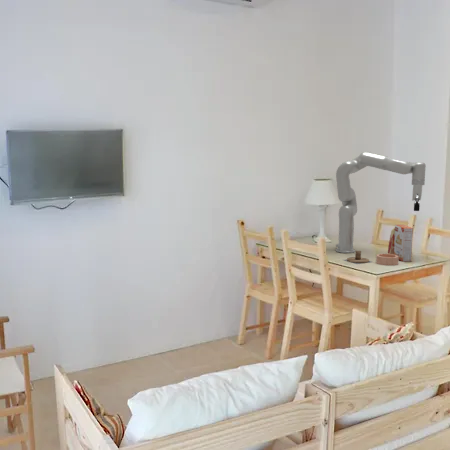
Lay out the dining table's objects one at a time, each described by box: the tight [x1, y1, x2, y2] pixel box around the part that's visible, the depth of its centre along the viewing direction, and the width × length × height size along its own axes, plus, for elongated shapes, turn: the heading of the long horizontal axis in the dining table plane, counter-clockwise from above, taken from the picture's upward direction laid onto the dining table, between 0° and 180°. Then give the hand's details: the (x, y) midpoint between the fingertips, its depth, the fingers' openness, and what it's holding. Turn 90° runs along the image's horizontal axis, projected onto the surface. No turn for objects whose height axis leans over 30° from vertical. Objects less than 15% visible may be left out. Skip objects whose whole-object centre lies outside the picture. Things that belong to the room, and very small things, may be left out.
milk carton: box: [387, 227, 395, 254], centre depth 348 cm, size 9×9×20 cm
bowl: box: [375, 253, 400, 266], centre depth 324 cm, size 12×12×5 cm
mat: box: [343, 259, 373, 265], centre depth 329 cm, size 13×13×1 cm
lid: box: [346, 250, 370, 264], centre depth 329 cm, size 13×13×6 cm
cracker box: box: [394, 224, 414, 263], centre depth 336 cm, size 14×6×21 cm, turn 5°
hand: (416, 210), depth 339 cm, fingers open, 9 cm apart
